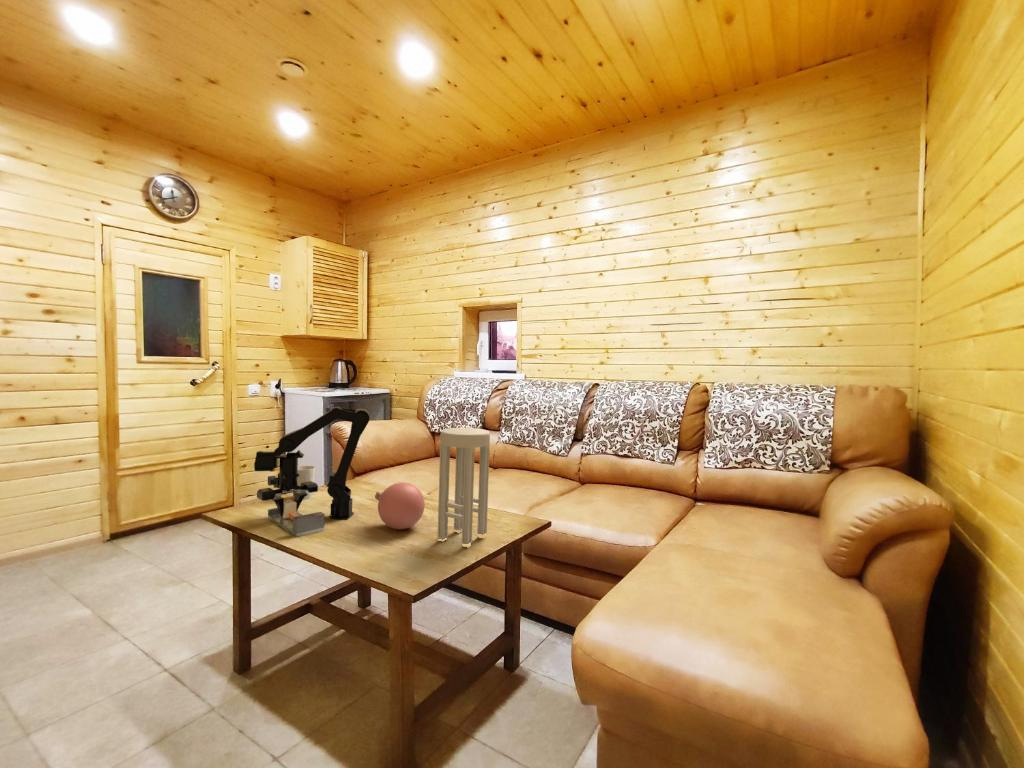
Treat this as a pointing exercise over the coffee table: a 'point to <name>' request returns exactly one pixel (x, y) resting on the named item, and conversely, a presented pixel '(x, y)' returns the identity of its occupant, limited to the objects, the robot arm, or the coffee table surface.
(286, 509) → the cream rectangular block
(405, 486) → the balloon
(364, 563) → the coffee table surface
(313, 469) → the cup
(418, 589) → the coffee table surface
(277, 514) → the gray display stand
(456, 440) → the stool
